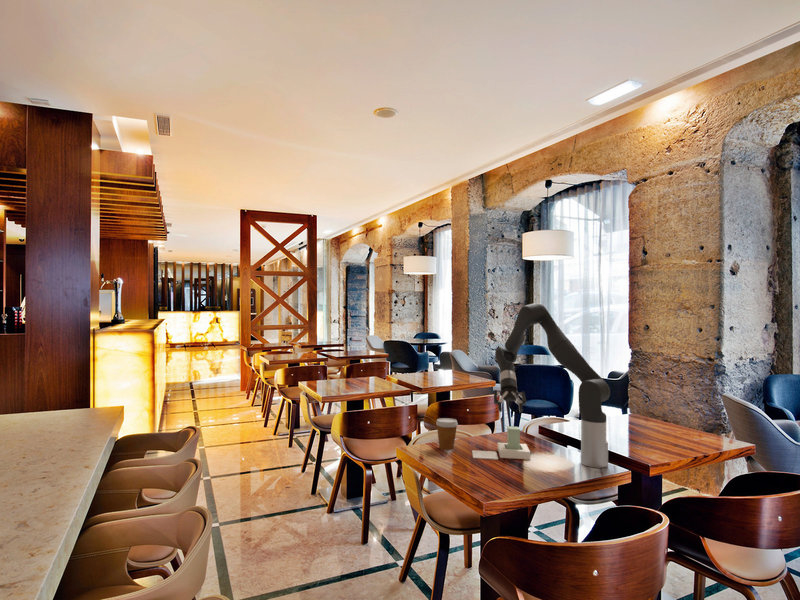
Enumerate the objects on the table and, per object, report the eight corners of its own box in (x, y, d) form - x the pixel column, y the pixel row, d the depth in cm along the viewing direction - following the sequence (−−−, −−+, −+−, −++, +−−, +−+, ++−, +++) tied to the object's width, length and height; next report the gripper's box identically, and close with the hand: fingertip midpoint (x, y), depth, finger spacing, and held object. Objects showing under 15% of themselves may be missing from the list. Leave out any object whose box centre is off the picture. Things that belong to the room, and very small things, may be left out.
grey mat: (496, 452, 196) (496, 451, 196) (498, 459, 186) (498, 458, 186) (472, 451, 198) (472, 450, 198) (473, 458, 188) (473, 457, 188)
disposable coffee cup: (447, 452, 195) (447, 423, 196) (431, 447, 202) (431, 419, 203) (462, 448, 202) (462, 420, 202) (445, 443, 209) (446, 416, 209)
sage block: (518, 453, 196) (518, 426, 197) (519, 456, 192) (519, 429, 192) (507, 452, 197) (507, 426, 197) (508, 455, 193) (508, 428, 193)
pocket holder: (525, 450, 200) (526, 443, 200) (530, 459, 188) (530, 451, 188) (497, 449, 201) (497, 442, 201) (500, 457, 189) (500, 450, 189)
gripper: (493, 376, 217) (494, 405, 205) (524, 377, 215) (528, 407, 203) (492, 386, 222) (493, 415, 210) (522, 387, 220) (526, 417, 208)
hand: (510, 411), depth 206 cm, fingers open, 8 cm apart
